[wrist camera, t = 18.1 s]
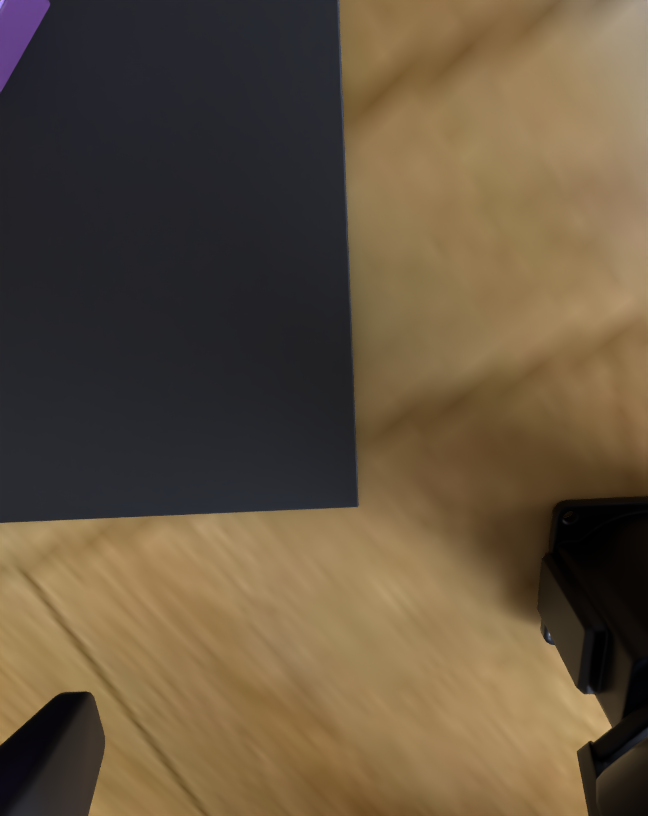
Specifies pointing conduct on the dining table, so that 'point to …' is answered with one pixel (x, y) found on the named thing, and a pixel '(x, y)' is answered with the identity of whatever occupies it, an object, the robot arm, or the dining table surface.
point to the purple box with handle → (17, 31)
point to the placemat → (175, 263)
